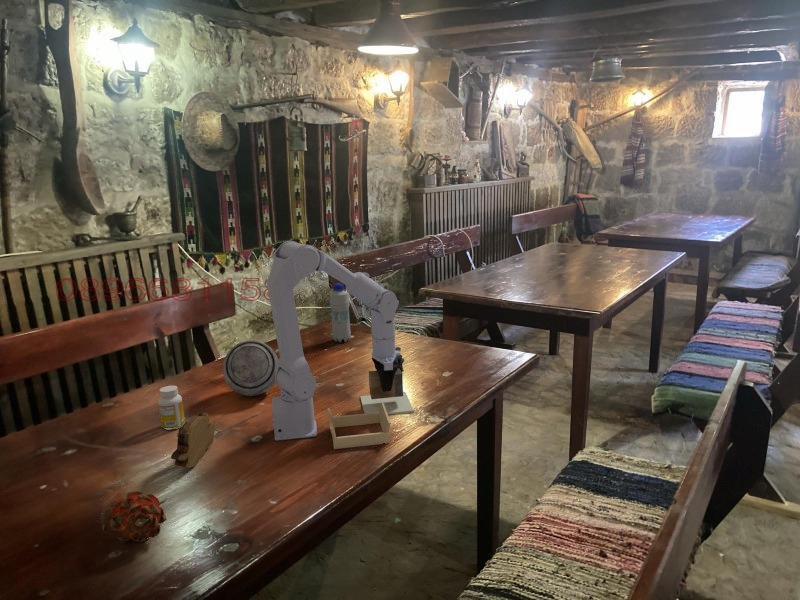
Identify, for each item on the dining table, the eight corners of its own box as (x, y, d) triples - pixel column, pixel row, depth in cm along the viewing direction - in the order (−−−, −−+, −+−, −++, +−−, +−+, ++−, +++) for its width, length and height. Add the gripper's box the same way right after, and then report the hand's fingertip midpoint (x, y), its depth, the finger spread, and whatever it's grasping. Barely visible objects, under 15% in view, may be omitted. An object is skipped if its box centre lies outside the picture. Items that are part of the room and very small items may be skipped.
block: (371, 399, 151) (370, 376, 150) (369, 393, 155) (368, 371, 154) (403, 396, 152) (402, 373, 151) (400, 390, 156) (399, 368, 155)
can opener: (403, 378, 172) (402, 359, 171) (379, 377, 173) (378, 359, 172) (410, 357, 189) (410, 340, 188) (388, 357, 190) (387, 340, 189)
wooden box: (331, 449, 132) (330, 428, 131) (328, 427, 143) (327, 407, 142) (391, 442, 134) (390, 422, 133) (384, 421, 145) (383, 402, 144)
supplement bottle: (177, 419, 150) (172, 382, 148) (189, 424, 147) (184, 387, 144) (157, 427, 146) (151, 389, 144) (169, 433, 143) (163, 394, 140)
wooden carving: (198, 442, 137) (193, 401, 135) (218, 442, 137) (213, 401, 135) (169, 481, 121) (163, 436, 119) (192, 481, 121) (186, 435, 119)
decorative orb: (223, 407, 156) (217, 352, 152) (227, 386, 170) (221, 335, 166) (282, 400, 159) (277, 346, 155) (281, 381, 173) (276, 330, 169)
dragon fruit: (158, 559, 101) (120, 544, 108) (187, 511, 105) (148, 500, 112) (121, 537, 95) (83, 523, 103) (152, 488, 100) (114, 477, 107)
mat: (365, 417, 148) (365, 415, 148) (360, 397, 159) (360, 396, 159) (413, 412, 150) (413, 410, 149) (405, 393, 161) (405, 391, 161)
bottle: (334, 337, 212) (331, 281, 207) (353, 337, 211) (350, 281, 206) (329, 343, 205) (326, 285, 200) (349, 343, 204) (346, 285, 199)
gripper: (404, 343, 144) (406, 397, 147) (394, 326, 157) (396, 375, 161) (375, 346, 142) (377, 399, 146) (367, 328, 156) (370, 378, 160)
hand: (385, 387), depth 153 cm, fingers closed on block, 4 cm apart
